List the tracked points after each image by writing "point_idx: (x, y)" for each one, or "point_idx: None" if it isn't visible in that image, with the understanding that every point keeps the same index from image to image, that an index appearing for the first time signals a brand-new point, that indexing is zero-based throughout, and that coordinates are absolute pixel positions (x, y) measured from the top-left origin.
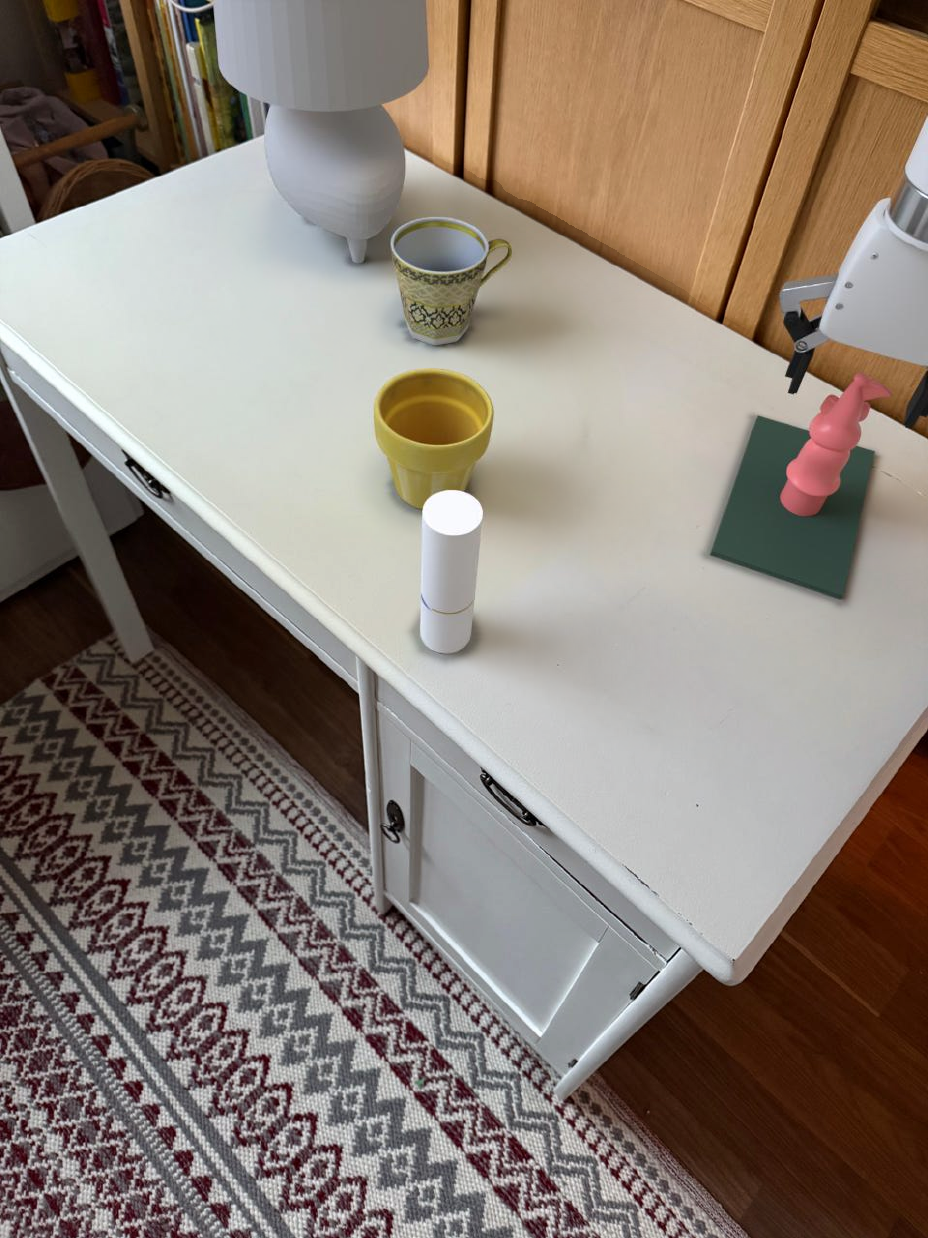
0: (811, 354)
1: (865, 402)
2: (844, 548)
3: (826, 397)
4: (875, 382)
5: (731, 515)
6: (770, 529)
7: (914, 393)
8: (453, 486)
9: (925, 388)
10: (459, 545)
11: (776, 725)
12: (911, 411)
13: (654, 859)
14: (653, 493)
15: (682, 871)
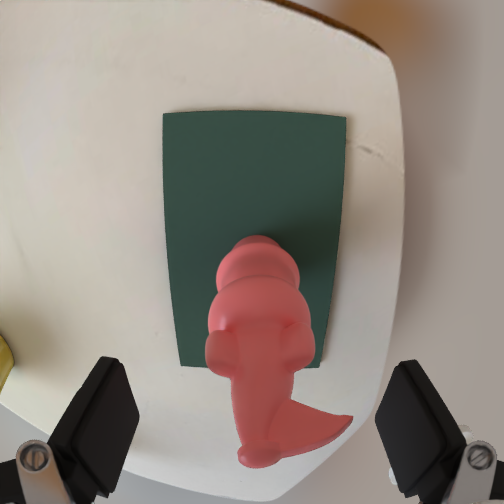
0: (104, 489)
1: (300, 358)
2: (319, 313)
3: (206, 358)
4: (300, 451)
5: (181, 318)
6: None
7: (409, 399)
8: (4, 382)
9: (407, 489)
10: None
11: None
12: (385, 447)
13: (229, 493)
14: (100, 306)
15: (243, 493)
